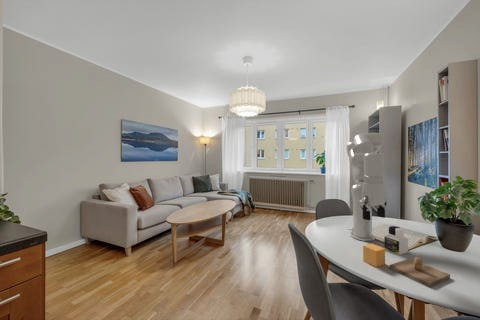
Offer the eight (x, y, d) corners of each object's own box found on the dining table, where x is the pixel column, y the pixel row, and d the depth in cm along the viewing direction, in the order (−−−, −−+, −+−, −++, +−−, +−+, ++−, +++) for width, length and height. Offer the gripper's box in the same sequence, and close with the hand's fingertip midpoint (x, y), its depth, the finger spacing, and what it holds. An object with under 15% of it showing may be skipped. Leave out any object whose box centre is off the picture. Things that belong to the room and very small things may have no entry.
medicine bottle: (384, 249, 106) (384, 226, 106) (393, 246, 109) (393, 224, 109) (399, 255, 100) (398, 230, 99) (408, 252, 102) (408, 228, 102)
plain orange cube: (363, 260, 95) (363, 245, 95) (372, 258, 97) (371, 243, 97) (376, 267, 89) (376, 251, 89) (385, 264, 92) (385, 248, 92)
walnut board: (389, 268, 88) (389, 254, 88) (409, 261, 94) (409, 248, 93) (429, 287, 75) (429, 271, 75) (450, 278, 81) (450, 263, 81)
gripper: (378, 178, 99) (378, 214, 99) (352, 180, 93) (352, 218, 93) (394, 180, 92) (395, 218, 93) (368, 182, 86) (368, 223, 86)
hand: (373, 218), depth 93 cm, fingers open, 9 cm apart
